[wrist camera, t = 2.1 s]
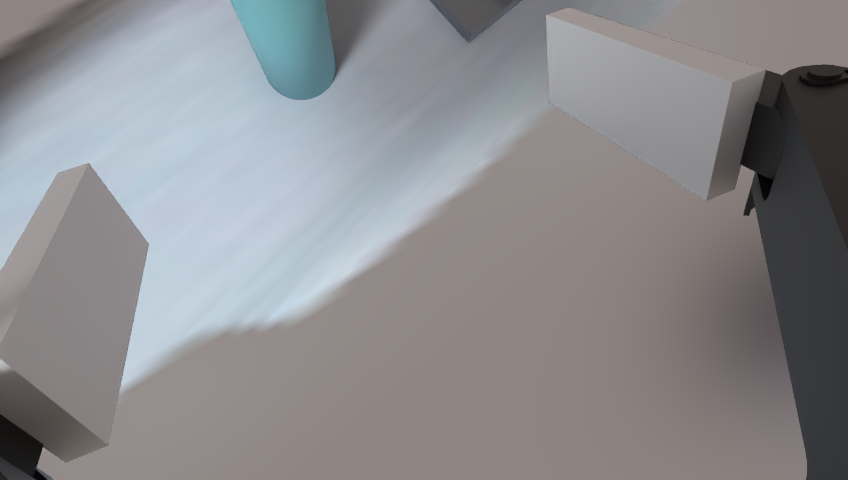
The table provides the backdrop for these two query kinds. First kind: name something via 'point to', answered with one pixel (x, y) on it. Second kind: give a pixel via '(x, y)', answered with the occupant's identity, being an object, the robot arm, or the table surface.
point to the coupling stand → (473, 14)
